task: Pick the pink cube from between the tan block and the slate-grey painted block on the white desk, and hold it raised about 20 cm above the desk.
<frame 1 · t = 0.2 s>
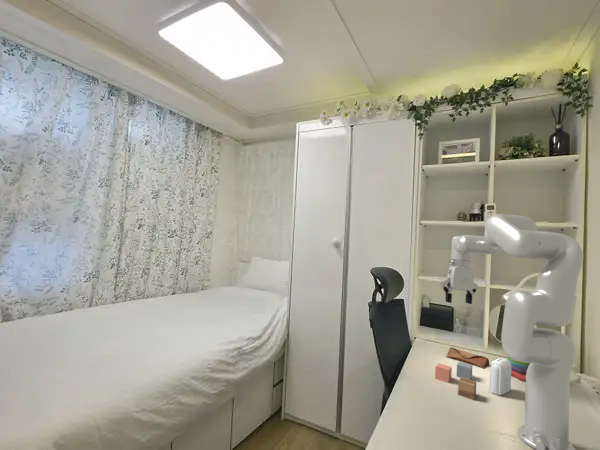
hand: (458, 302, 129), 30 cm above the table, tool pointing down, fingers open, 9 cm apart
tan block: (466, 395, 108), on the table
sunglasses case: (466, 362, 144), on the table
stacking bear: (519, 376, 130), on the table
pink cube: (443, 379, 120), on the table
photo printer: (500, 392, 113), on the table
slate block: (464, 376, 124), on the table
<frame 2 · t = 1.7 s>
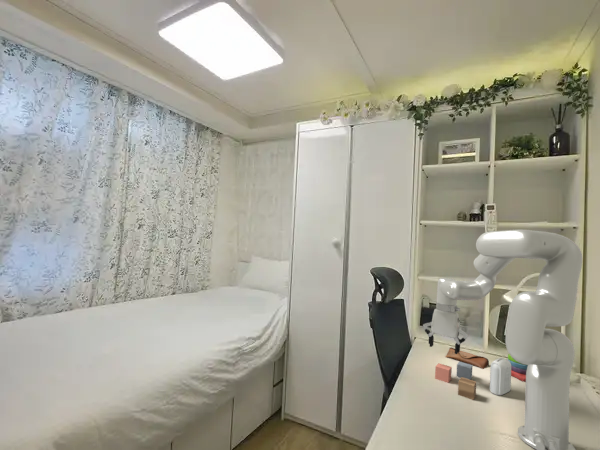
hand: (443, 349, 121), 12 cm above the table, tool pointing down, fingers open, 9 cm apart
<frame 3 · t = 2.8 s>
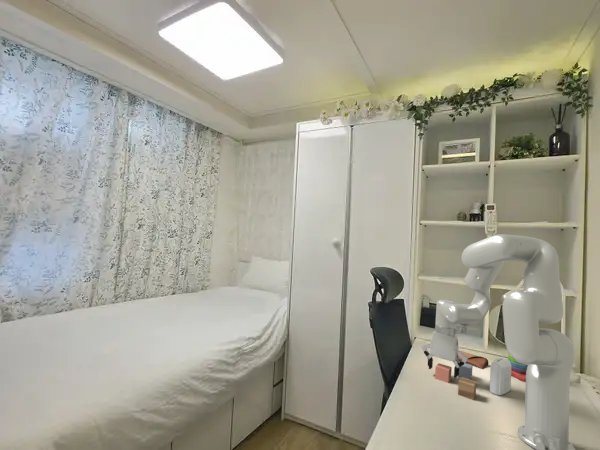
hand: (442, 372, 121), 2 cm above the table, tool pointing down, fingers open, 9 cm apart
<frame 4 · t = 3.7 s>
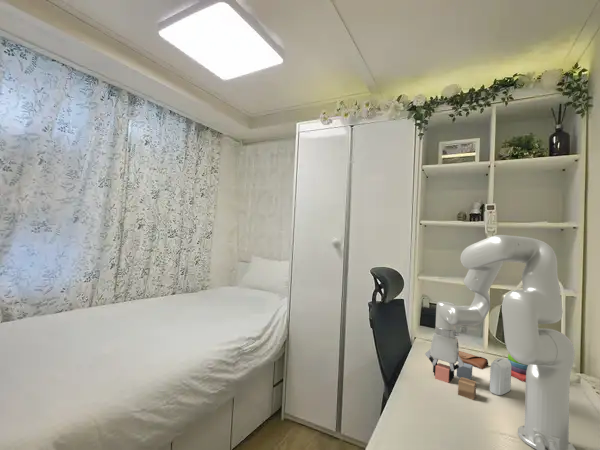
hand: (443, 376, 120), 1 cm above the table, tool pointing down, fingers closed on pink cube, 5 cm apart
pink cube: (443, 378, 120), on the table, touching gripper
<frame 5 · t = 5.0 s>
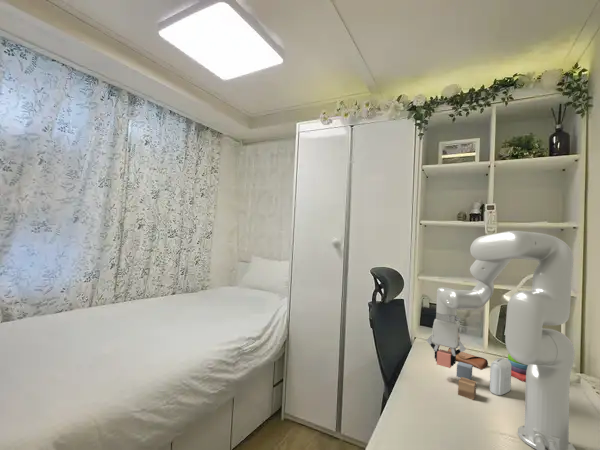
hand: (444, 362, 120), 7 cm above the table, tool pointing down, fingers closed on pink cube, 4 cm apart
pink cube: (444, 364, 120), point 6 cm above the table, touching gripper
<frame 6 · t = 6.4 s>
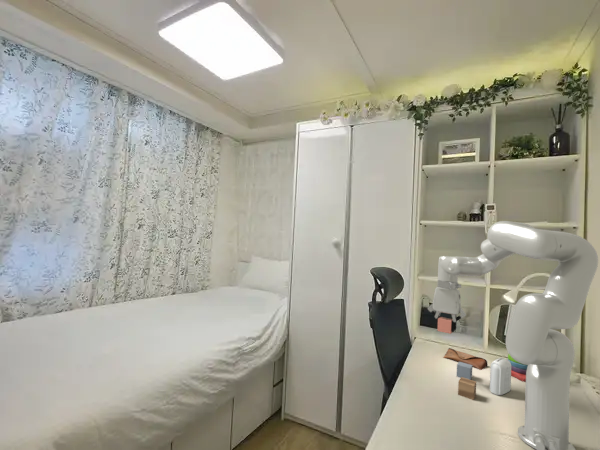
hand: (445, 329, 122), 20 cm above the table, tool pointing down, fingers closed on pink cube, 4 cm apart
pink cube: (445, 331, 121), point 19 cm above the table, touching gripper
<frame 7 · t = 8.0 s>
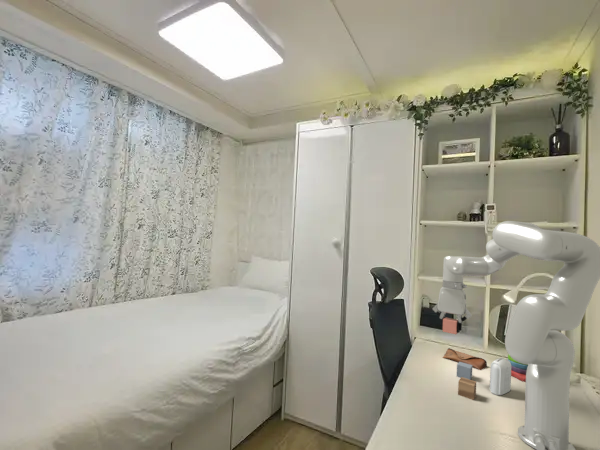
hand: (450, 329, 120), 20 cm above the table, tool pointing down, fingers closed on pink cube, 4 cm apart
pink cube: (450, 331, 120), point 20 cm above the table, touching gripper
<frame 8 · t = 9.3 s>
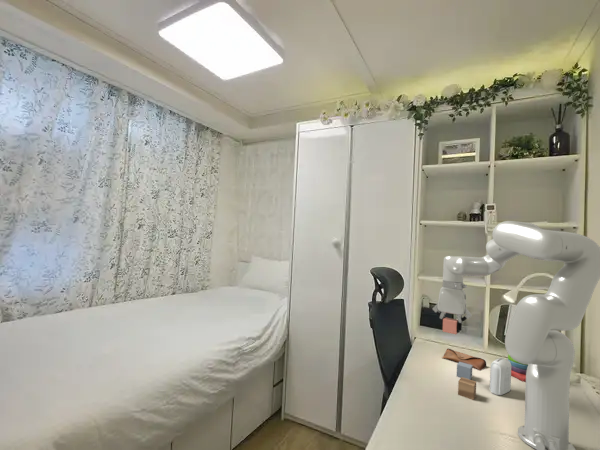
hand: (450, 329, 120), 20 cm above the table, tool pointing down, fingers closed on pink cube, 4 cm apart
pink cube: (450, 331, 120), point 20 cm above the table, touching gripper
at the end: the gripper is holding pink cube; pink cube point 19.5 cm above the table; slate block moved 0.1 cm from its start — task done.
